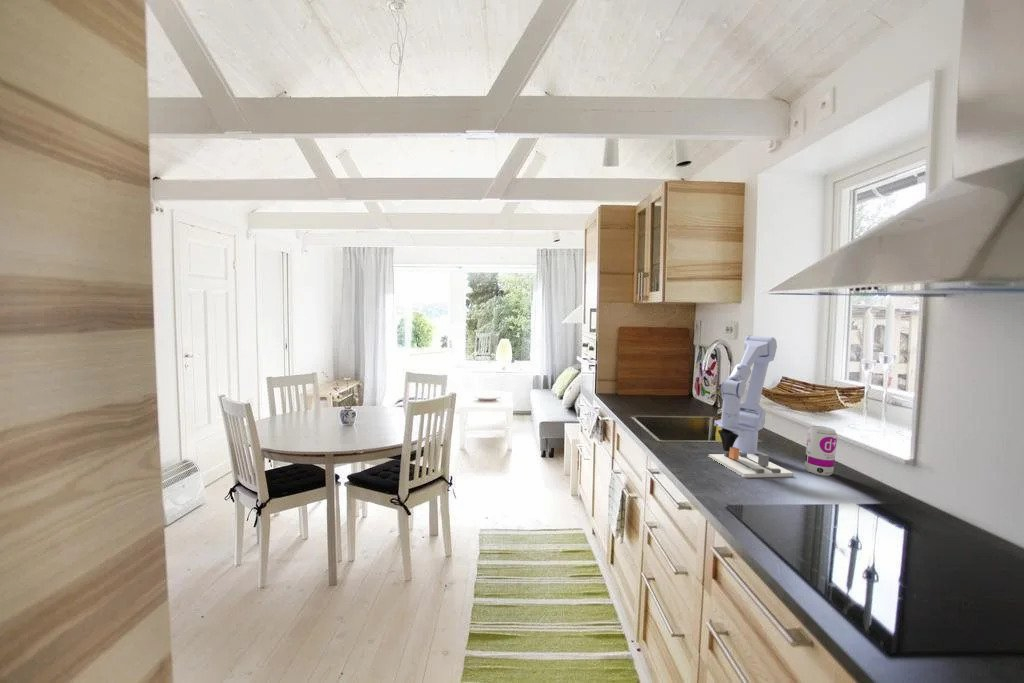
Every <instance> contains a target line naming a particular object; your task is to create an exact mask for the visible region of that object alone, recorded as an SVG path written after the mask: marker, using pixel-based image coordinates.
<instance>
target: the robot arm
mask: <svg viewBox="0 0 1024 683" xmlns="http://www.w3.org/2000/svg"><path fill="white" fill-rule="evenodd" d="M743 346H744V354H743V356H742V357H741V361H740V363H737V364H735V366H734V367H733V369H732V371H731V373H730V375H729V377H727V379H724V380H723V381H722V383H721V385H720V393H721V400H722V406H721V418H720V420H719V419H718V420H717V419H716V420H714V424H713V426H715V427H718V428H720V429H718V430H717V432H718V434H719V437H720V439H721V445H722V450H723V451H724V452H729V451H730V447H736V448H738V449H739V453H740V452H741V453H743V452H745V453H747V454H754V455H759V453H762V452H761V451H759V450H758V438H759V431H761V430H762V429H763V428H764V426H765V424H766V410H765V408H763V406H761V405H760V401H761V397H762V394H763V388H764V385H765V384H764V383H765V379H766V376H767V372H768V367H769V364H770V362H773V361H774V359H775V356H776V353H777V350H778V349H777V348H778V345H777V340H776V338H775V337H774V336H773V337H770V336H769V337H767V336H759V335H758V336H757V335H755V336H753V335H747V336H746V337H745V339H744V342H743ZM751 367H752V369H751ZM748 379H749V382H748V386H747V381H748ZM746 388H747V390H746ZM745 391H746V394H745ZM744 395H746V396H745V400H744V401H742V398H743V396H744ZM741 401H742V402H741Z"/></svg>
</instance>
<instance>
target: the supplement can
mask: <svg viewBox="0 0 1024 683" xmlns="http://www.w3.org/2000/svg"><path fill="white" fill-rule="evenodd" d="M806 439H807V440H806V447H805V457H804V469H805V470H806V471H807V472H808V473H810V472H811V474H813V475H818V476H823V477H825V476H827V477H828V476H831V475H833V474H834V467H835V460H836V453H837V452H836V450H837V443H838V434H837V431H836V429H834V428H831V427H826V426H821V425H811V426H810V428H809V429H808V430H807V438H806Z"/></svg>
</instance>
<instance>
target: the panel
mask: <svg viewBox="0 0 1024 683" xmlns="http://www.w3.org/2000/svg"><path fill="white" fill-rule="evenodd" d="M708 457H710V458H712V459H713V460H712V459H711V460H712V461H714V460H715V461H717V462H718V463H717V462H716V463H717V464H719V463H720V464H719V465H721V464H722V465H724V466H725V468H726V467H727V468H726V469H728V470H730V471H731V470H732V472H733V471H734V472H733V473H735V472H736V473H735V474H737V475H738V476H740V475H741V476H740V477H742V478H776V477H778V478H782V477H787V478H788V477H793V476H794V472H793V471H790V470H788V469H786V468H785V467H782V466H780V465H778V464H775V463H773V462H771V461H769V463H768V466H761V465H759V464H758V458H759V455H758V454H747V453H745V452H743V453H740V452H739V459H732V458H730V457H729V452H724V453H723V454H722V453H721V454H720V453H719V454H717V453H715V454H714V453H713V454H711V453H710V454H708ZM710 458H709V459H710ZM715 461H714V462H715ZM722 465H721V466H722ZM724 466H723V467H724Z"/></svg>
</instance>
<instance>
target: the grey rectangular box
mask: <svg viewBox="0 0 1024 683" xmlns="http://www.w3.org/2000/svg"><path fill="white" fill-rule="evenodd" d="M758 456H759V458H758V464H759V465H761V466H768V463H769V462H770V461H769V460H770V455H768V454H766V453H763V452H761V453H759V454H758Z"/></svg>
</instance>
